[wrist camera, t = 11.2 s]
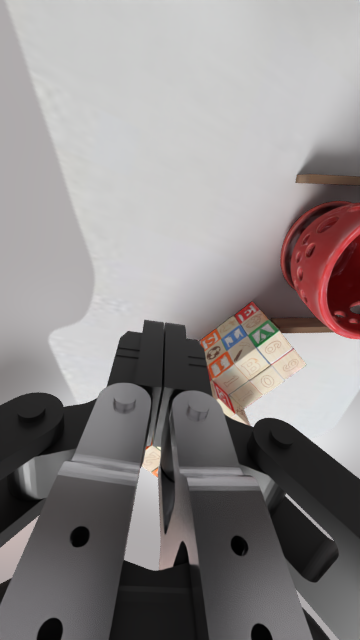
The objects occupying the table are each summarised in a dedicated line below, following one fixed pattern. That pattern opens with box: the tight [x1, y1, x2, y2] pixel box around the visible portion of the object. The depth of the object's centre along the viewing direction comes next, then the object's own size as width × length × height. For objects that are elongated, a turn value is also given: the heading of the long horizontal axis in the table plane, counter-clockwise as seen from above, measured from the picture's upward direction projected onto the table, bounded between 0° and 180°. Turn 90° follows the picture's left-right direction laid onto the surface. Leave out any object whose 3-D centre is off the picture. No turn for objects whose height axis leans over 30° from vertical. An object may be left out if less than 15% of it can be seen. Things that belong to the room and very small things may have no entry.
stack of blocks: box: [142, 302, 306, 477], centre depth 38 cm, size 21×6×12 cm, turn 130°
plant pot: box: [281, 201, 360, 339], centre depth 33 cm, size 13×13×12 cm
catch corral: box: [271, 174, 360, 333], centre depth 37 cm, size 19×14×3 cm
